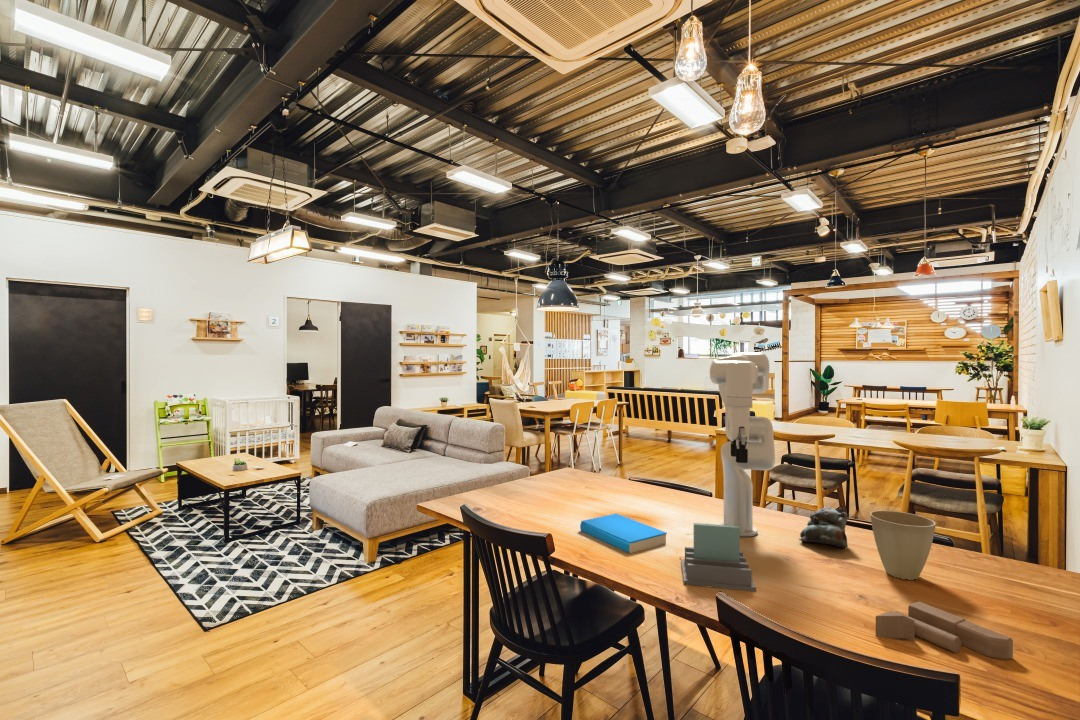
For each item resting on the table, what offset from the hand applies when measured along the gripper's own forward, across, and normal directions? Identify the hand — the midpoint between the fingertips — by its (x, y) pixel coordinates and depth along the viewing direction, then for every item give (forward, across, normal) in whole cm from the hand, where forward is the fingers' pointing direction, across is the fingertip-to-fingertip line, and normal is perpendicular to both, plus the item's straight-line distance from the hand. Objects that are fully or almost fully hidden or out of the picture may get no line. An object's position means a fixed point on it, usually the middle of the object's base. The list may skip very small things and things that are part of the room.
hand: (738, 459), depth 149 cm
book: (+31, -13, -36) cm, 49 cm away
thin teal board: (+29, +13, -8) cm, 33 cm away
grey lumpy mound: (+31, -21, +29) cm, 47 cm away
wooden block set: (+31, +38, +34) cm, 60 cm away
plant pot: (+31, 0, +43) cm, 53 cm away
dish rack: (+30, +13, -8) cm, 34 cm away
